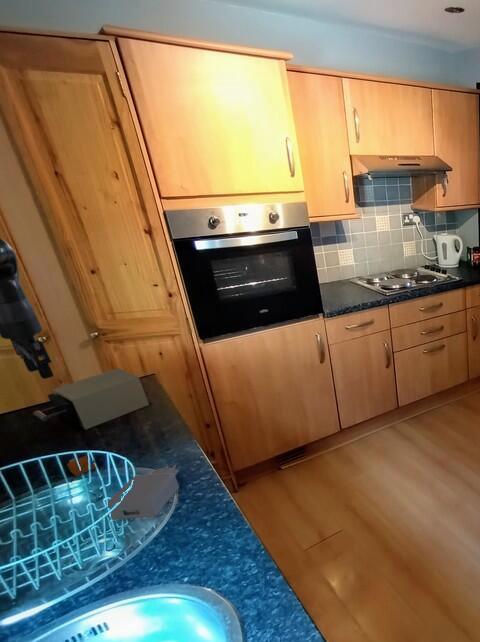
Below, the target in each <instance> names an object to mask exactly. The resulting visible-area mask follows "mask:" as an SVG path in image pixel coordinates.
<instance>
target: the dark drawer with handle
mask: <svg viewBox="0 0 480 642" xmlns="http://www.w3.org/2000/svg"><path fill="white" fill-rule="evenodd" d="M46 395H47V398H48V400H49V402H50V404H51V407H48V408H46V409H42V410H35V411H33V413H32V414H33V416H35V417H36V418H37V419H39V420H41V421H42V422H47V421H49V420H50V419H52V418H54V417H57V419H58V420H60V421H61V422H63V423H65V424H66V425H68V426H69V427H71V428H73V429H74V430H79V429H81V428H82V427H81V426H80V424H79V421H78V419H79V420H80V418H79V416H78V414H77V411H76V409H75V407H74V405H73V403H72V402H71V401H70V400H68V399H66V398H64V397H63V396H62V397H63V399H64V400H63V399H62V398H60V397H58V396H56V395H55V393H54V392H53V393H50V394H46ZM50 411H54V413H51V414H49V415H46V414H45V413H46V412H47V413H48V412H50ZM77 418H78V419H77Z"/></svg>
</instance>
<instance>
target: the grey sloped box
mask: <svg viewBox="0 0 480 642" xmlns="http://www.w3.org/2000/svg"><path fill="white" fill-rule="evenodd" d="M52 390H53V391H52V392H53V394H55V395H56V396H58V397H60V398H62V399H63V397H64V398H66V399H68V400H70V401H71V402H72V403H73V405H74V407H75V409H76V411H77V414H78V416H79V418H80V420H79V419H78V418H77V419H78V421H79V424H80V426H81V428H82V429H83V430H88V429H91V428H94V427H96V426H99V425H101V424H104V423H106V422H109V421H111V420H114V419H117V418H119V417H122V416H124V415H127V414H129V413H131V412H134V411H137V410H139V409H142V408H145V407H148V406H149V405H150V403H149V401H148V398H147V395H146V393H145V390H144V387H143V385H142V382H141V380H140V377H139V376H137V375H134V374H132V373H130V372H128V371H125V370H123V369H122V368H115V369H112V370H108V371H105V372H101V373H98V374H96V375H93V376H90V377H87V378H83V379H81V380H78V381H74V382H71V383H68V384H64V385H61V386H59V387H55V388H53V389H52ZM62 396H63V397H62ZM63 400H64V399H63Z"/></svg>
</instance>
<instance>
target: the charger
mask: <svg viewBox="0 0 480 642" xmlns="http://www.w3.org/2000/svg"><path fill="white" fill-rule="evenodd" d="M176 467H177V465H176V464H174V465H173V466H172V467H169V465H165V467H159V468H157V469H156V470H155V469H154V471H152V473H147V474H145V473H144V474H138V475H135V476H132V477H131V478H130V479H129V480H128V481H127V482H126V483H125V484H124V485H123V487H121V488H120V489H119V491H118V490H117V492H116V493H115V494H114V495H113V496H112V497H111V498H110V499H109V500H108V501H107V502H108V508H111V507H112V506H113V505H115V504H116V503H118V502H120V501H121V495H122V493H123V492H125V491H126V490H127V489H128V488H129V486H130V484H131V482H132V480H134V481H133V485H132V488H131V490H129V491H128V493H127V494H126V495H125V496H124V498H123V500H122V501H121V503H120V504H119V505H118V506H117V507H116V508H115V509H114V510H113V511H112V512H111V518H112V519H111V518H110V519H111V520H113V521H114V520H130V519H143V518H154V517H156V516H157V515H158V514H159V513H160V512H161V510H162V509H163V508H164V506H166V505H167V503H168V502H169V501H170V500H171V498H172V497H173V496H174V495H175V494H176V493H177V491H178V490H179V489H180V485H179V482H178V480H177V477H176V476H177V475H178V473H179V472H180V470H178V469H177V468H176ZM104 507H105V504H104Z"/></svg>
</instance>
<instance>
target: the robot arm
mask: <svg viewBox="0 0 480 642" xmlns="http://www.w3.org/2000/svg"><path fill="white" fill-rule="evenodd" d="M14 250H15V249H13V247H12V246H11V245H10V244H9V243H8V242H7V241H6V240H5V239H3V238H1V237H0V337H1V339H4V340H10V342H11V344H12V346H13V349H14V351H15V355H17V356H19V358H20V359H21V360H22V361H23V363H24V365H25V367H26V369H27V371H28V372H30V373H32V372H36V371H38V373H39V375H40V378H41V379H44V380H46V379H49V378H53V377H54V373H53V371H52V369H51V365H50V363H52V360H51V358H50V356H49V353H48V351H47V350H46V348H45V345H44V342H43V341H40V339H36V337H35V335H37V334H39V333H41V332H42V331H43V327H42V326H41V323H40V321H39V319H38V316H37V314H36V312H35V310H34V307H33V305H32V304H31V301H29V299H28V297H27V295H26V292H25V290H24V288H23V286H22V284H21V282H20V273H19V265H18V258H17V255H16V253H15V251H14ZM39 358H42V359H41V360H40V359H39Z"/></svg>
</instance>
